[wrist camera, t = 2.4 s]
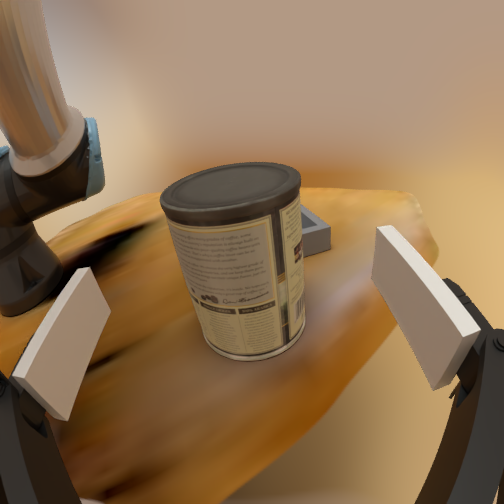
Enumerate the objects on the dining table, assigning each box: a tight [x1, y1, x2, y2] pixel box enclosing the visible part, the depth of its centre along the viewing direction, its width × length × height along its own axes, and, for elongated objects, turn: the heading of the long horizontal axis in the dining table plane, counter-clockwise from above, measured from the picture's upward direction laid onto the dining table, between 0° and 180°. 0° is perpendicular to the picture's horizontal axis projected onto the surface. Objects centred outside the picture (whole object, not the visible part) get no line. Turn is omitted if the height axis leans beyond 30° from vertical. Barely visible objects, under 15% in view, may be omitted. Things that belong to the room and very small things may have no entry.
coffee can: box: [160, 162, 306, 361], centre depth 24 cm, size 10×10×14 cm
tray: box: [300, 204, 331, 257], centre depth 42 cm, size 18×18×3 cm
